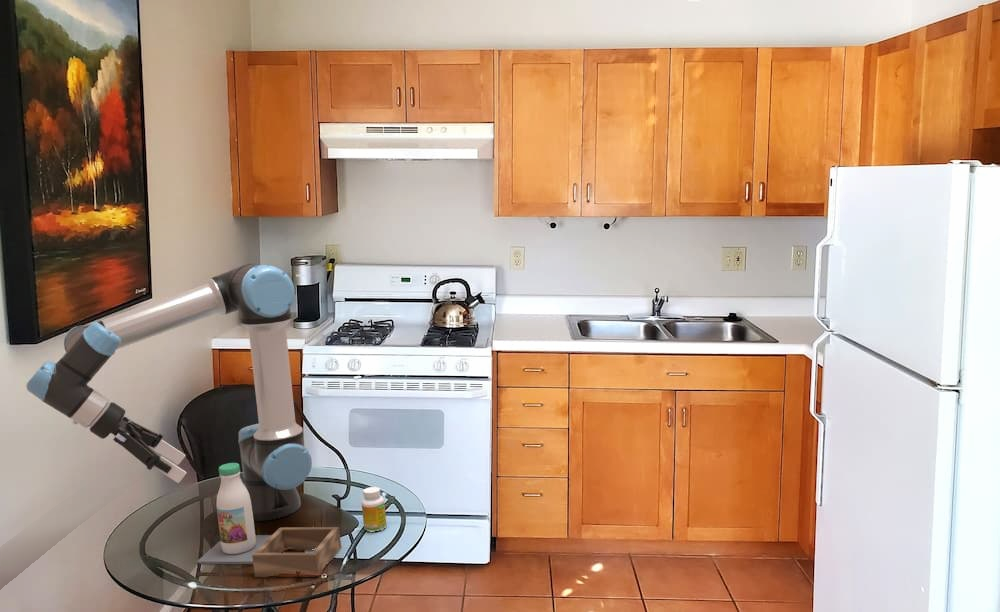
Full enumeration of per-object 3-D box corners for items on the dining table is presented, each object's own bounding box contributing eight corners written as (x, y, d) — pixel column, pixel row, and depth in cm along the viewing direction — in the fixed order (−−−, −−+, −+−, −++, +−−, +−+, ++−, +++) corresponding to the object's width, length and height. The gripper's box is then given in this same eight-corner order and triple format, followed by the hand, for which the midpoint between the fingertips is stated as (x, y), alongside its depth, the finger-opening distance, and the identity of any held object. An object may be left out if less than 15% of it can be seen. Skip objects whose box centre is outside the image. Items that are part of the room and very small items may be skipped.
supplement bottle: (382, 533, 201) (378, 493, 199) (360, 532, 202) (356, 493, 200) (389, 523, 206) (386, 485, 204) (368, 523, 207) (365, 485, 205)
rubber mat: (226, 537, 205) (226, 535, 205) (280, 537, 202) (280, 535, 202) (197, 564, 191) (196, 561, 191) (255, 564, 189) (255, 561, 189)
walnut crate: (282, 548, 196) (279, 527, 196) (341, 547, 194) (339, 527, 193) (254, 577, 182) (252, 555, 182) (318, 577, 180) (315, 555, 179)
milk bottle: (237, 539, 202) (226, 458, 199) (263, 542, 199) (253, 460, 196) (214, 553, 195) (203, 470, 192) (241, 556, 192) (231, 472, 189)
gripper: (92, 415, 194) (171, 466, 201) (82, 444, 171) (171, 500, 178) (114, 389, 195) (191, 440, 202) (107, 414, 172) (194, 471, 179)
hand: (182, 468), depth 190 cm, fingers open, 13 cm apart
